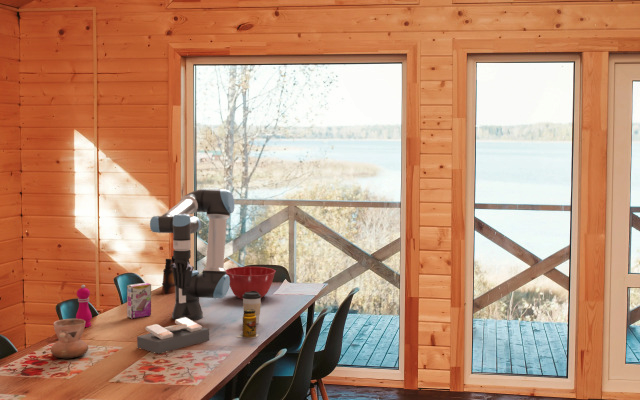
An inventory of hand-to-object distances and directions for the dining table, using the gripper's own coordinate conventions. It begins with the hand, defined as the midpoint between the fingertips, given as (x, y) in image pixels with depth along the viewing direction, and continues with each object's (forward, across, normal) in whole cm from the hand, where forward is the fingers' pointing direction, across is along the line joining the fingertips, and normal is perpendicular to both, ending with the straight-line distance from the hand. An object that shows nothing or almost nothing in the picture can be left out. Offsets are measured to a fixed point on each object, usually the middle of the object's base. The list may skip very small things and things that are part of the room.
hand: (182, 302), depth 321 cm
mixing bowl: (+17, -40, +84) cm, 94 cm away
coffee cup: (+17, +2, +42) cm, 45 cm away
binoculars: (+16, -89, +68) cm, 113 cm away
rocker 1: (+10, +3, -15) cm, 19 cm away
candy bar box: (+17, -50, +15) cm, 55 cm away
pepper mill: (+17, -54, -14) cm, 58 cm away
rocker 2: (+10, +3, -7) cm, 13 cm away
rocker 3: (+10, +3, +1) cm, 11 cm away
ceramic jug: (+17, -16, -45) cm, 51 cm away
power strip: (+17, +3, -6) cm, 18 cm away
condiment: (+17, +18, +23) cm, 33 cm away
